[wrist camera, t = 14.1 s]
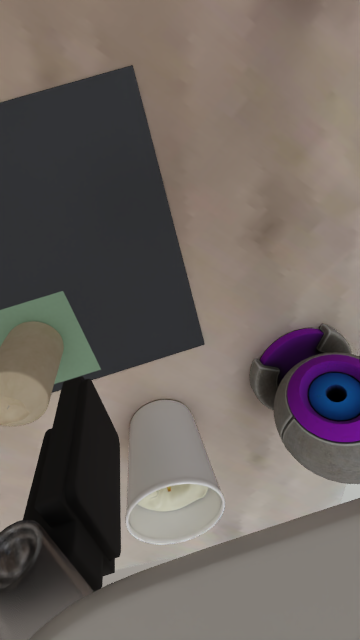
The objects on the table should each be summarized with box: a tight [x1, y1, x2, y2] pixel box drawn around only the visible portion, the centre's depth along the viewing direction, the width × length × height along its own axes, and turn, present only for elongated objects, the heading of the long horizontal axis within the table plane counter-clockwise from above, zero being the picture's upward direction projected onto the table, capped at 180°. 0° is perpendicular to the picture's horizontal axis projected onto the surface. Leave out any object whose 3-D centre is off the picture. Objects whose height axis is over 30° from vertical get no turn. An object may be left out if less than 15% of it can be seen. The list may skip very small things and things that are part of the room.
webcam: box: [250, 324, 360, 484], centre depth 34 cm, size 13×13×15 cm
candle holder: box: [125, 400, 225, 545], centre depth 35 cm, size 10×10×12 cm
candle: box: [0, 321, 64, 426], centre depth 28 cm, size 6×6×10 cm
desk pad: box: [0, 65, 204, 392], centre depth 29 cm, size 26×23×1 cm
